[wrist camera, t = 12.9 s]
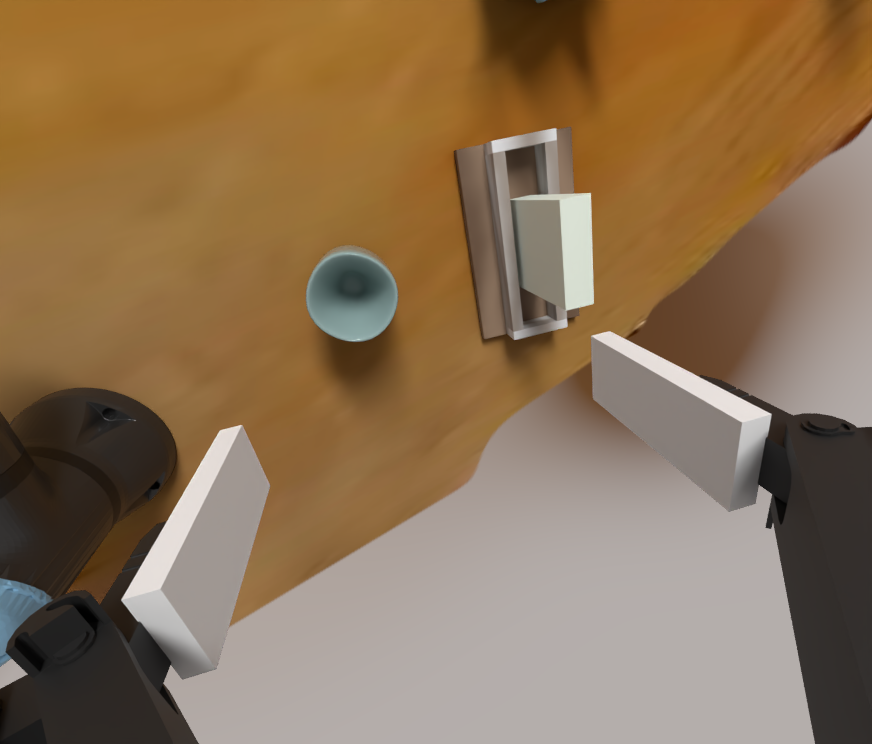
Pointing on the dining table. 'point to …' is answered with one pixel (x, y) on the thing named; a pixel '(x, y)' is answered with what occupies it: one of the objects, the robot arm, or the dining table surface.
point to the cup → (351, 294)
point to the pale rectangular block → (555, 247)
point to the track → (510, 225)
